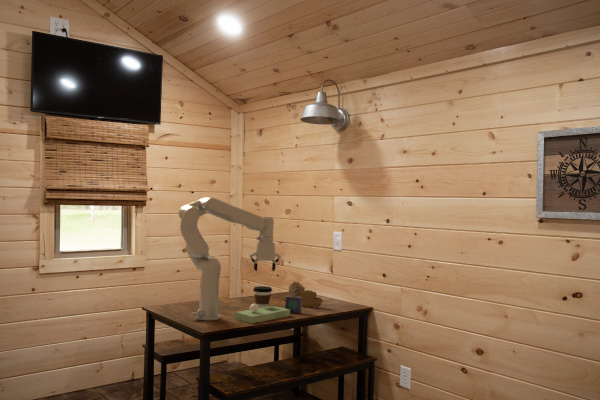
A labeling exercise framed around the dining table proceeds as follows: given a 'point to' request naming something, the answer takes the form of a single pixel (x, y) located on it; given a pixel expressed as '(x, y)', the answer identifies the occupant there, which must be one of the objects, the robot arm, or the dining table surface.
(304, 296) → the wooden carving
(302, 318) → the dining table surface
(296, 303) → the blue box
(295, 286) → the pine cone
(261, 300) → the coffee cup
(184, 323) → the dining table surface
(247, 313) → the green tray with wells
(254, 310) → the ball
